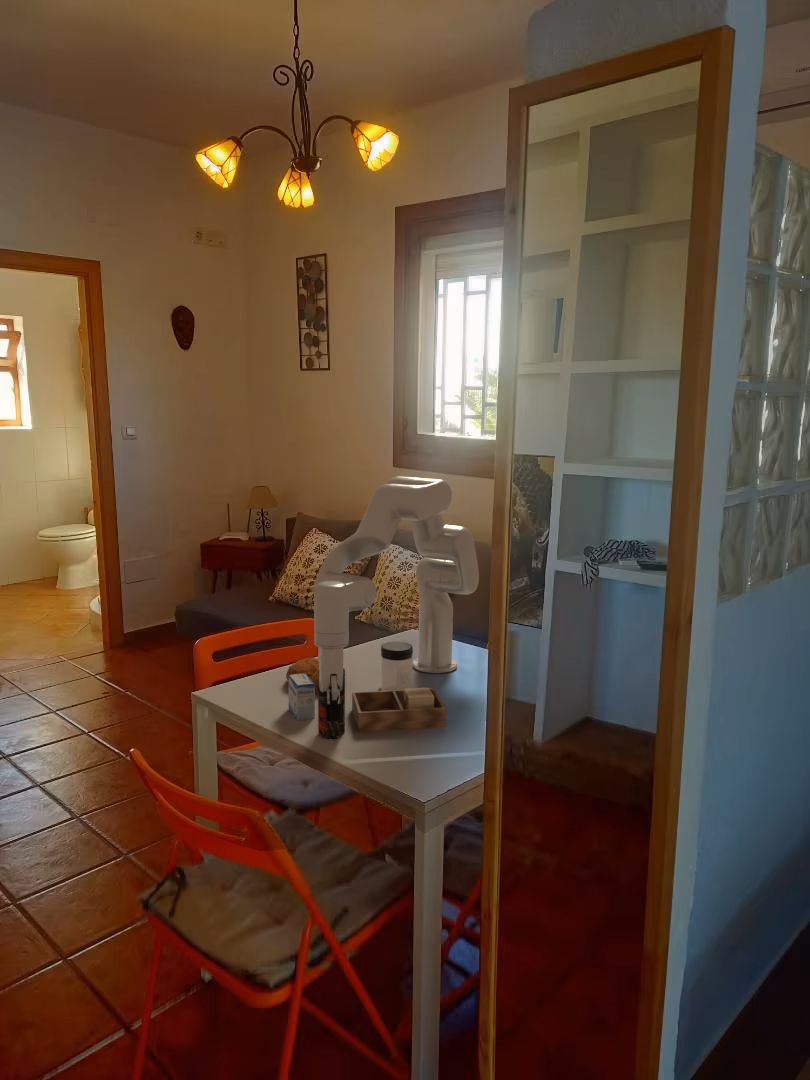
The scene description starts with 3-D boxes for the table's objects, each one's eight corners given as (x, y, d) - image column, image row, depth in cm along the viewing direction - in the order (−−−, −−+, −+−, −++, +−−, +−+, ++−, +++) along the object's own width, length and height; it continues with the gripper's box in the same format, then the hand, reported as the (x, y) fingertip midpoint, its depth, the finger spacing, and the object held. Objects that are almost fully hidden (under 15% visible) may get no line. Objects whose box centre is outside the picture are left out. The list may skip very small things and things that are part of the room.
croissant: (305, 706, 199) (306, 678, 196) (277, 680, 211) (278, 653, 208) (354, 694, 207) (356, 666, 204) (325, 669, 219) (326, 643, 216)
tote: (358, 734, 177) (358, 713, 176) (352, 712, 190) (352, 692, 189) (445, 728, 181) (445, 708, 180) (433, 707, 193) (433, 688, 193)
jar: (390, 698, 199) (390, 652, 197) (373, 688, 206) (373, 644, 204) (419, 692, 204) (420, 647, 202) (402, 682, 211) (402, 639, 209)
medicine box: (288, 708, 191) (287, 674, 190) (306, 706, 193) (305, 672, 192) (297, 720, 184) (296, 685, 183) (315, 718, 186) (315, 683, 185)
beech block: (403, 712, 189) (404, 688, 188) (428, 711, 190) (428, 687, 189) (408, 722, 183) (408, 697, 182) (433, 720, 184) (434, 696, 183)
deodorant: (347, 737, 175) (347, 673, 173) (320, 740, 174) (320, 675, 171) (341, 727, 181) (341, 664, 178) (316, 730, 179) (315, 666, 177)
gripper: (311, 627, 181) (312, 699, 184) (317, 650, 164) (317, 729, 167) (344, 625, 182) (344, 697, 185) (353, 648, 166) (352, 727, 169)
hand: (331, 712), depth 176 cm, fingers open, 8 cm apart
